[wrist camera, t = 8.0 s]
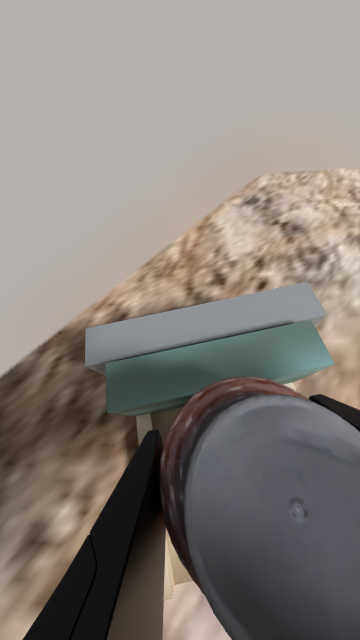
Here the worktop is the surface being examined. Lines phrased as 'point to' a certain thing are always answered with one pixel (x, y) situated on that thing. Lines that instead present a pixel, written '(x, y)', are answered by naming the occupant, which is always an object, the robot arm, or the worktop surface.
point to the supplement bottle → (266, 510)
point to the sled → (207, 384)
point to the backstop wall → (200, 324)
